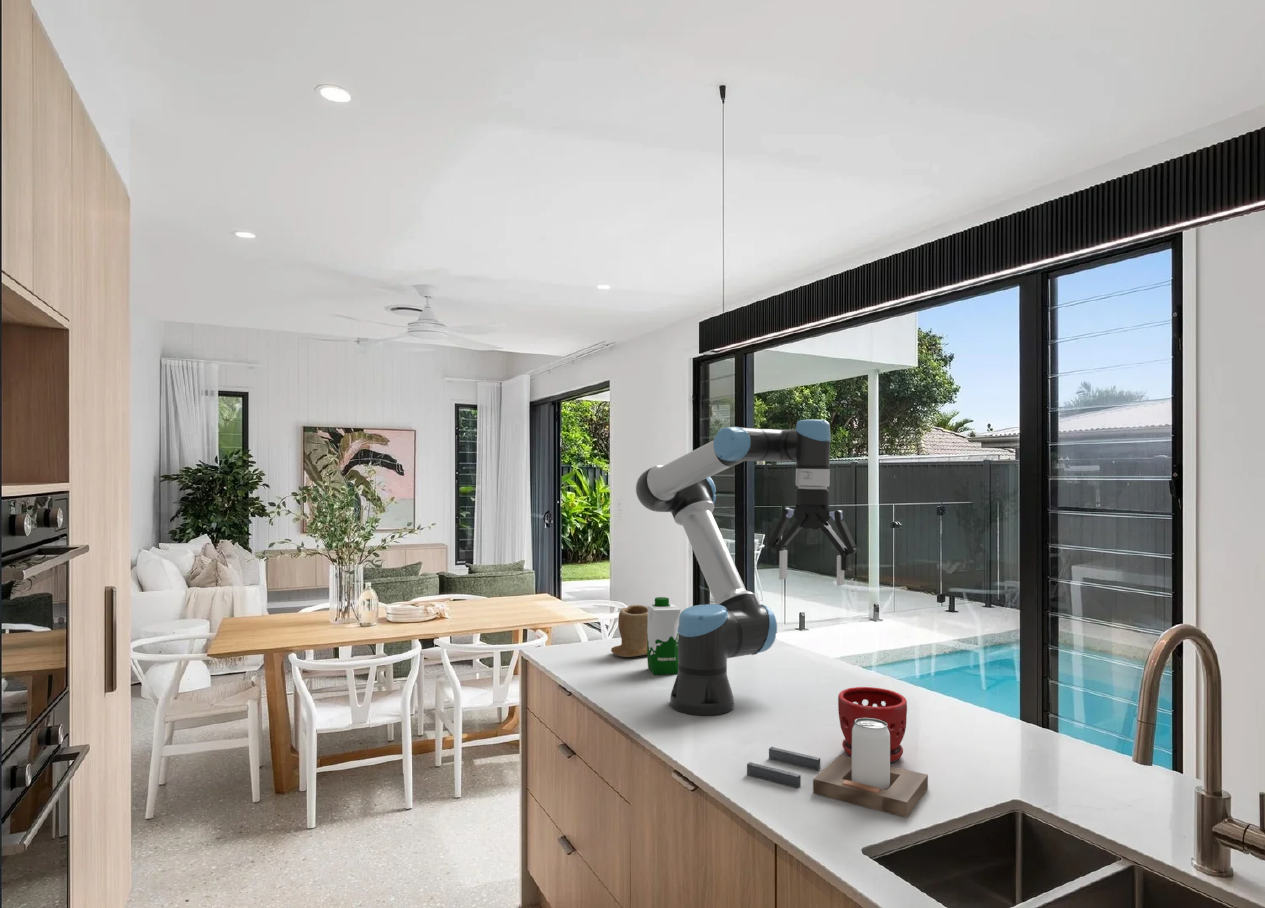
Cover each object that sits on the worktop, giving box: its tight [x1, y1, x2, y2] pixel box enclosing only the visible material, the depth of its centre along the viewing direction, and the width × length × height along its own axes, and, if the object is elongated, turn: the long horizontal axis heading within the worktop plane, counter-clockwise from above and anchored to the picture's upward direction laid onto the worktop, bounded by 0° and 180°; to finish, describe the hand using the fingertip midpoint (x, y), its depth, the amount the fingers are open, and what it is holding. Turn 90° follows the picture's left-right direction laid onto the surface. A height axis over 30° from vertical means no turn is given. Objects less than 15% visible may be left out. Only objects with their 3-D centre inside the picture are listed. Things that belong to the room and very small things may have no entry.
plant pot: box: [837, 686, 908, 763], centre depth 152 cm, size 13×13×12 cm
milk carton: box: [646, 596, 682, 676], centre depth 214 cm, size 9×9×20 cm
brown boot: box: [610, 604, 648, 658], centre depth 232 cm, size 15×12×15 cm
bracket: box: [746, 746, 821, 789], centre depth 144 cm, size 10×11×2 cm
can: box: [851, 718, 891, 790], centre depth 136 cm, size 6×6×12 cm
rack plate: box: [812, 754, 929, 818], centre depth 135 cm, size 16×14×3 cm
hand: (811, 581), depth 173 cm, fingers open, 13 cm apart
